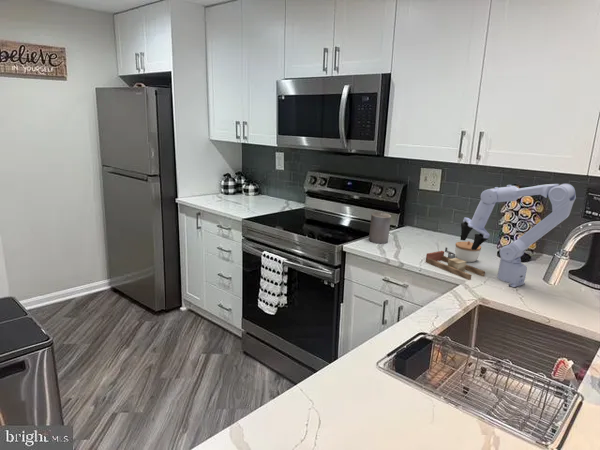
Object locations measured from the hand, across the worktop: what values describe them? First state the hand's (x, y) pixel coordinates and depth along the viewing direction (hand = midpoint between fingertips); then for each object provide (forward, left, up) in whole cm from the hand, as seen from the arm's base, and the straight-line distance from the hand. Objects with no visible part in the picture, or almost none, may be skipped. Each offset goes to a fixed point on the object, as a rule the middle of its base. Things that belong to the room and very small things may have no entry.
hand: (468, 244), depth 182 cm
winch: (+9, -1, -11) cm, 14 cm away
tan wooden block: (-1, +7, -10) cm, 12 cm away
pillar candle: (+46, +7, -11) cm, 47 cm away
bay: (0, +7, -11) cm, 13 cm away
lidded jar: (+6, -9, -11) cm, 15 cm away
